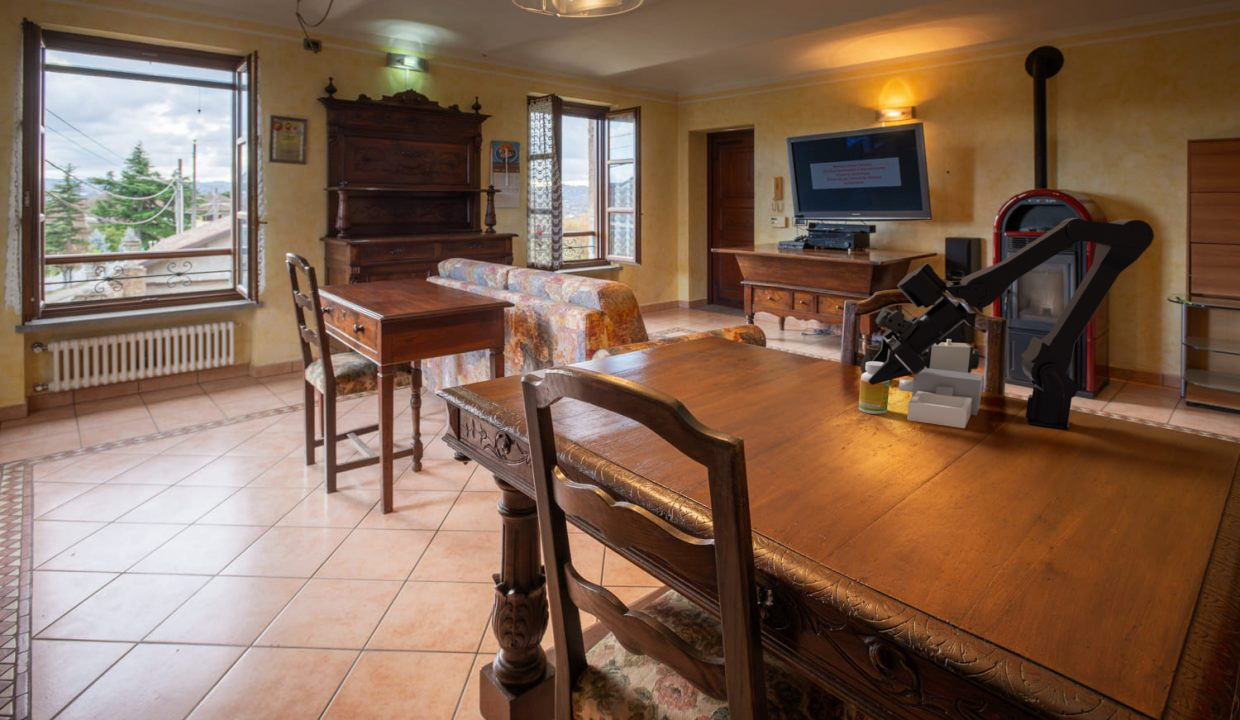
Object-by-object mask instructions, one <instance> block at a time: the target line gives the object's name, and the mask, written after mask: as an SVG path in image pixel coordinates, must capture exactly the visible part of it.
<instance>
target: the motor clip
mask: <svg viewBox="0 0 1240 720" xmlns="http://www.w3.org/2000/svg"><path fill="white" fill-rule="evenodd" d="M983 381H984V374H983V373H973V372H971V373H966V372H957V371H947V370H938V369H929V368H924V369H923V370H922V371H921V372H919V373H918V374H917V375H915V374H914V373H913V380H911V379H905V378H900V380H899V382H898V390H899V391H901V392H908V393H909V392H910V393H911V394H912V395H911V398H910V399H909V401H908V408H907V417H906V418H907V419H906V420H907V421H912V422H917V423H918V422H920V423H926V424H934V425H940V426H946V427H953V428H959V429H965V428H966V426H967V424H968V422H969V420H970V418H971V416H972V415H973V416H977V415H978V413H979V410H980V406H981V397H982V389H983Z"/></svg>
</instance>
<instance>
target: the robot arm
mask: <svg viewBox="0 0 1240 720" xmlns="http://www.w3.org/2000/svg"><path fill="white" fill-rule="evenodd" d="M1154 239H1155V233H1154V231H1153V227H1152V226H1151V225H1150V223H1147V222H1146V221H1144V220H1141V219H1130V218H1129V219H1126V218H1125V219H1117V220H1114V221H1111V222H1102V221H1092V220H1085V219H1084V218H1078V217H1070V218H1066V219H1064V220H1062V221H1061V222H1060V223H1059V224H1057V226H1055V227H1054V228H1051V229H1050V230H1049V231H1047V232H1045V233H1044V234H1043V235H1041V236H1039V237H1038V238H1036V239H1035V240H1033V241H1031V242H1030V243H1028V244H1027V245H1026V246H1023V247H1022V248H1021V249H1019V250H1018V251H1016V252H1015V253H1013V254H1011V255H1009V256H1008V257H1006V258H1005V259H1004V260H1002V261H999V262H998V263H995V264H994V265H990V266H987V267H985V268H981V269H979V270H976V271H975V272H972V273H970V274H968V275H966V276H964V277H963V278H962V279H961V280H955V281H954V280H953V281H950V280H949V281H944V280H943V279H942V278H941V277H940V276H939V275H938V274H937V273H936V272H935V271H934V268H933V266H931V265H930V264H929V263H928V262H924V263H923V265H921V266H920V267H918V268H916V269H915V270H913V271H912V272H909V273H908V274H907V275H905V276H904V277H903V278H902V279H901V280H900V281H899V282H898V283H897V286H896V287H897V288H898V290H899V291H901V293H903V295H905V296H906V298H907V299H908V300H909V301H910V302H911V303H912V304H913V305H914V306H915V307H916V308H920V307H924V308H925V309H927V308H929V309H927V310H926V311H925V312H924V313H923V314H921V315H920V316H919V317H918V316H913V317H912V318H911V319H908V318H907V317H905V314H904V313H903V312H900V311H898V310H897V309H895V310H890V309H888V308H886V307H882V309H881V311H880V312H879V314H878V316H876V319H875V320H874V321H875V323H876V324H877V325H878V326H880V327H882V328H886V329H888V330H886V331H885V332H883V333H882V337H881V342H882V343H881V349H880V351H879V352H878V354H877V355H876V356H875V358H874V359H873V360H872V361H875V362H883V363H884V364H883V365H882V366H881V367H880V368H879V369H878V370H877V371H876V372H875V374H874V375H873V376H872V377H871V378H870V379H869V383H870V384H871V385H874V384H878V383H881V382H885V381H888V380H890V381H892V380H895V379H899V378H900V379H901V378H904V377H908V376H914V374H915V375H917V374H918V373H919V372H921V371H922V370H923V369H924V365H925V361H924V360H923V359H922V357H923V355H922V354H923V353H924V352H925V351H926V350H928V349H929V348H930V347H931V346H933V345H934V344H935V343H936V345H938V344H940V343H941V342H942V341H941V339H943V338H944V337H946V336H947V335H948V334H950V333H951V332H952V331H953V330H954V329H955V328H958V326H959V325H960V324H962V323H966V324H967V325H968V326H970V327H971V328H972V329H973V328H975V327H976V318H977V315H978V313H977V312H975V311H969V310H968V309H967V308H966V307H965V306H964V305H963V304H962V303H961V302H960V301H959V300H957V301H954V302H953V301H952V300H950V299H949V297H948V296H946V295H945V294H944V292H945V293H947V294H949V295H950V296H952V297H953V298H957V299H960V300H961V301H962V302H964V303H965V304H967V305H968V306H970V307H973V308H978V309H982V308H986V307H988V306H990V305H992V304H993V303H995V301H996V300H997V299H998V298H1000V297H1001V296H1002V295H1003V294H1004V293H1005V292H1006V291H1007V290H1008V288H1010V287H1011V285H1013V284H1014V282H1016V281H1017V280H1018V279H1019V278H1022V277H1023V276H1024V275H1026V274H1027V273H1029V272H1031V271H1032V270H1034V269H1035V268H1037V267H1038V266H1039V267H1040V265H1042V264H1044V263H1045V262H1047V261H1049V260H1050V259H1052V258H1053V257H1055V256H1056V255H1058V254H1059V253H1061V252H1062V251H1064V250H1065V249H1067V248H1069V247H1070V246H1072V245H1074V244H1075V243H1078V242H1089V243H1095V244H1096V243H1097V244H1096V246H1095V251H1094V256H1093V261H1092V264H1091V266H1090V267H1089V270H1087V273H1086V274H1085V275H1084V277H1083V278H1082V280H1081V281H1080V284H1079V286H1078V287H1077V289H1075V290H1076V291H1075V292H1074V294H1073V295H1072V297H1071V298H1070V300H1069V301H1068V303H1067V305H1066V306H1065V308H1064V309H1063V310H1062V313H1061V314H1060V316H1059V317H1058V319H1057V321H1056V322H1055V324H1054V325H1053V327H1052V328H1051V330H1050V331H1049V333H1048V334H1046V335H1045V336H1044V337H1043V338H1042V339H1038V338H1037V337H1035V336H1033V337H1032V338H1031V340H1030V343H1029V345H1028V346H1027V349H1026V350H1025V351H1024V352H1023V353H1021V356H1022V360H1021V368H1022V371H1023V373H1024V374H1025V376H1026V377H1028V378H1029V379H1030V382H1031V384H1032V386H1033V387H1032V393H1031V394H1029V395H1027V396H1028V398H1027V405H1026V412H1025V418H1026V419H1027V424H1030V425H1035V426H1043V427H1047V428H1055V429H1057V428H1058V429H1065V430H1068V429H1069V428H1070V422H1069V421H1070V412H1071V406H1072V399H1073V398H1075V397H1076V395H1077V393H1078V391H1079V390H1080V386H1079V385H1078V384H1077V383H1076V382H1075V381H1074V380H1073V379H1072V378H1071V377H1070V376H1069V375H1068V372H1069V368H1070V366H1071V365H1072V363H1073V362H1072V361H1073V356H1074V350H1075V346H1076V343H1077V341H1078V340H1079V339H1080V337H1081V336H1082V334H1083V332H1084V330H1085V329H1086V327H1087V326H1088V325H1089V323H1090V322H1091V320H1092V318H1093V316H1094V315H1095V313H1096V312H1097V310H1098V309H1099V307H1100V306H1101V304H1102V302H1103V301H1104V299H1105V298H1106V296H1107V295H1108V293H1109V292H1110V290H1111V288H1112V287H1113V285H1114V284H1115V283H1116V281H1117V279H1118V278H1119V276H1120V275H1121V273H1122V272H1124V271H1126V269H1127V268H1129V267H1131V266H1132V265H1133V264H1134V263H1135V262H1136V261H1138V259H1140V257H1142V255H1143V254H1144V253H1145V252H1146V251H1147V250H1148V249H1149V248H1150V246H1151V245H1152V243H1153V241H1154ZM937 301H938V302H937ZM883 336H884V337H883ZM866 371H867V370H865V372H866Z"/></svg>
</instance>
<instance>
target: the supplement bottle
mask: <svg viewBox="0 0 1240 720" xmlns="http://www.w3.org/2000/svg"><path fill="white" fill-rule="evenodd" d="M883 364H884V363H883V362H875V361H870V362H866V366H865V368H866V369H865V370H867V371H866V372H865V373H863V374H862V373H861V376H860V386H859V397H858V398H859V399H858V410H859V411H860V412H863V413H865V414H870V415H872V414H873V415H881V414H882V415H883V414H886V413H887V412H888V404H889V392H890V383H891V382H890V381H891V380H888V381H885V382H881V383H878V384H874V385H871V384H870V383H869V379H870V378H871V377H872V376H873V375H874V374H875V372H876V371H877V370H878V369H879V368H880V367H881V366H882V365H883Z"/></svg>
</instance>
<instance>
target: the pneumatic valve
mask: <svg viewBox="0 0 1240 720" xmlns="http://www.w3.org/2000/svg"><path fill="white" fill-rule="evenodd" d="M922 355H923V357H922V359H923V360H924V361H925V365H924V368H929V369H938V370H947V371H957V372H966V373H972V372H973V370H974V371H975V370H977V369H978V368H979V366H980V365H979V364H980V352H979V350H978V349H975V348H974V346H973V345H971V344H969V343H967V342H965V343H964V342H952V339H951V338H947V339H946V342H943V341H941V343H940V344H938V345H936V343H935V344H934V345H933V346H931V347H930V348H929V349H928V350H926V351H925V352H924V353H923V354H922Z"/></svg>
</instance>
